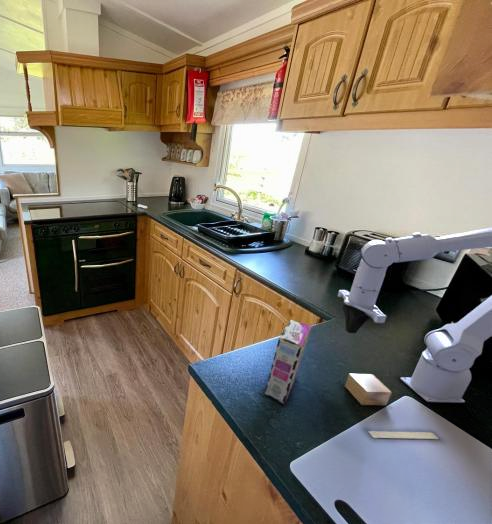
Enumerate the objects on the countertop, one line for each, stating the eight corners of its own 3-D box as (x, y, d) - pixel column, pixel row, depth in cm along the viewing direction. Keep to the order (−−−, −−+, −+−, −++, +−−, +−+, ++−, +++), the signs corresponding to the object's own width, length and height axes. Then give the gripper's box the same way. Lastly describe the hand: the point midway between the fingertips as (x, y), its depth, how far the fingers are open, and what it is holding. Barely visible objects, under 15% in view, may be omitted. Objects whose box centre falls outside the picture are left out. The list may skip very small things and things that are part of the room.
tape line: (431, 432, 62) (431, 432, 62) (438, 439, 60) (438, 438, 60) (367, 431, 61) (367, 431, 61) (373, 437, 60) (373, 437, 60)
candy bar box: (285, 405, 67) (302, 346, 61) (263, 394, 70) (277, 337, 64) (297, 379, 75) (312, 325, 70) (277, 370, 78) (290, 318, 73)
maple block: (367, 386, 74) (372, 374, 73) (386, 405, 68) (392, 392, 67) (344, 386, 74) (349, 373, 72) (361, 404, 68) (366, 391, 67)
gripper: (332, 275, 81) (320, 317, 86) (372, 299, 67) (355, 347, 72) (357, 276, 81) (344, 318, 86) (401, 300, 68) (382, 348, 72)
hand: (350, 331), depth 79 cm, fingers closed
